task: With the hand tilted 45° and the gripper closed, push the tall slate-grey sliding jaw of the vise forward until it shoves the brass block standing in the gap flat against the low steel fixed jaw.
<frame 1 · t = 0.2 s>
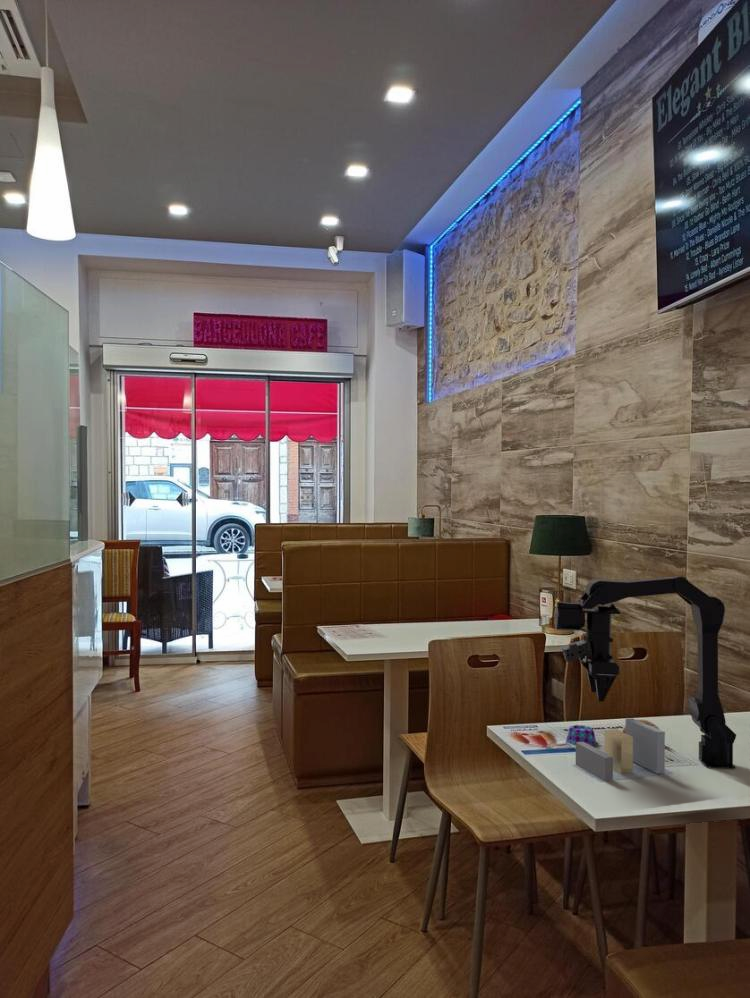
hand: (597, 696, 178), 15 cm above the table, tool pointing down, fingers open, 9 cm apart
brass block: (618, 769, 167), point 1 cm above the table, touching vise
bread roll: (642, 745, 190), on the table
sliding jaw: (644, 745, 169), point 6 cm above the table, slide at 0.0 cm
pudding: (581, 749, 187), on the table
vise: (616, 776, 167), on the table
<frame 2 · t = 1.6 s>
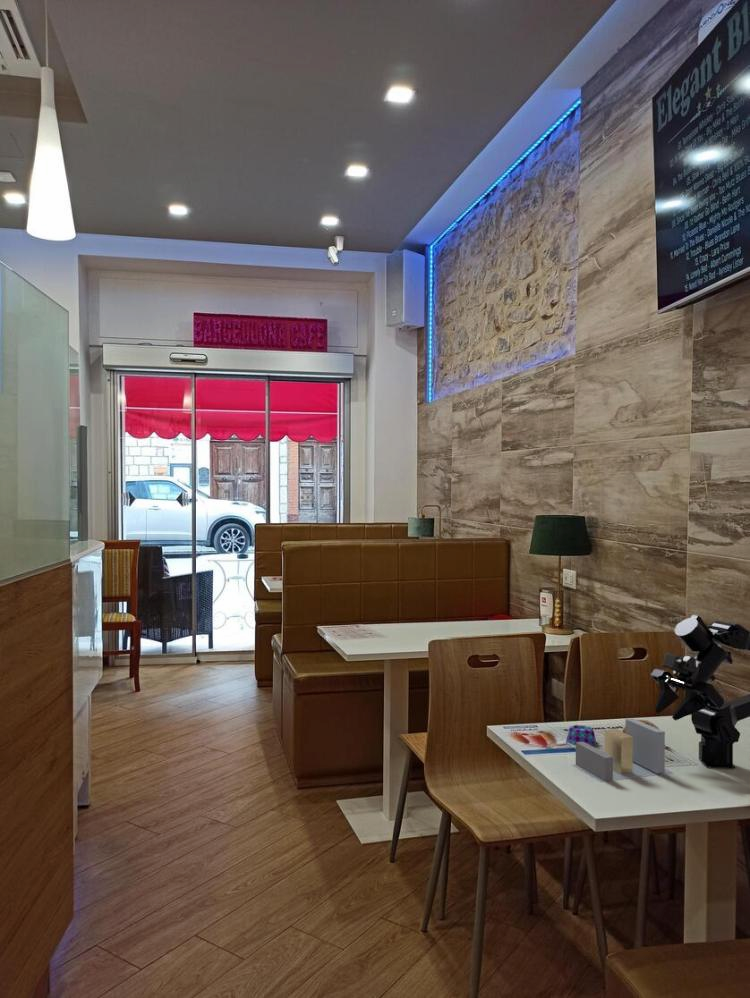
hand: (664, 715, 171), 13 cm above the table, tool tilted 45°, fingers open, 6 cm apart
nothing on the table moved.
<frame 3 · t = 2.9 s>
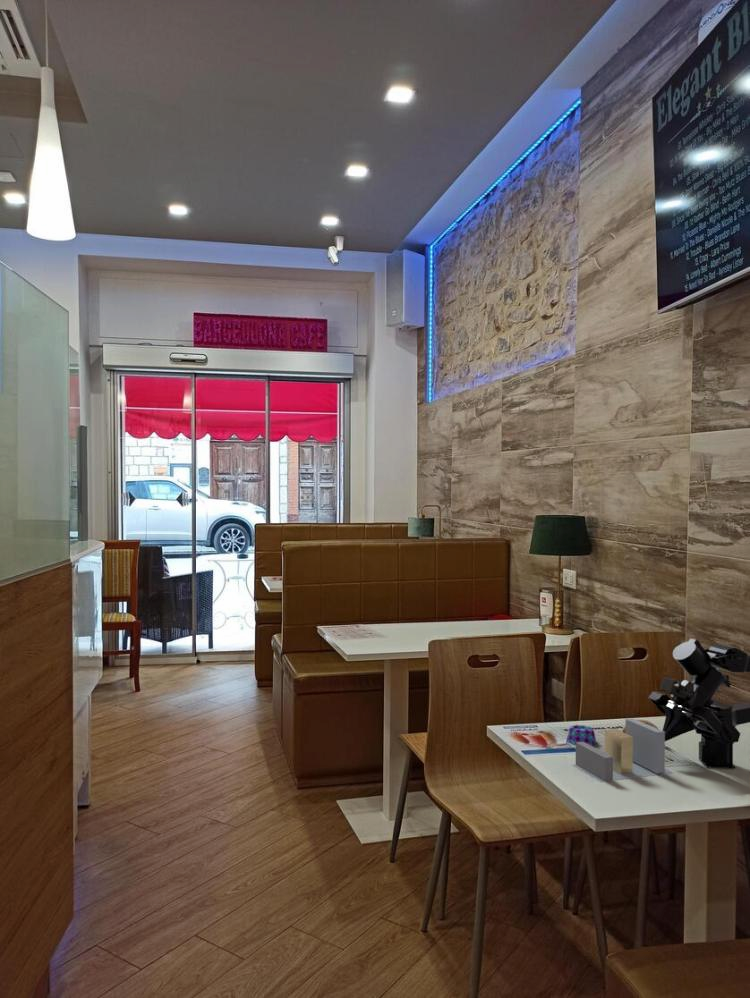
hand: (662, 739, 171), 7 cm above the table, tool tilted 45°, fingers closed
nothing on the table moved.
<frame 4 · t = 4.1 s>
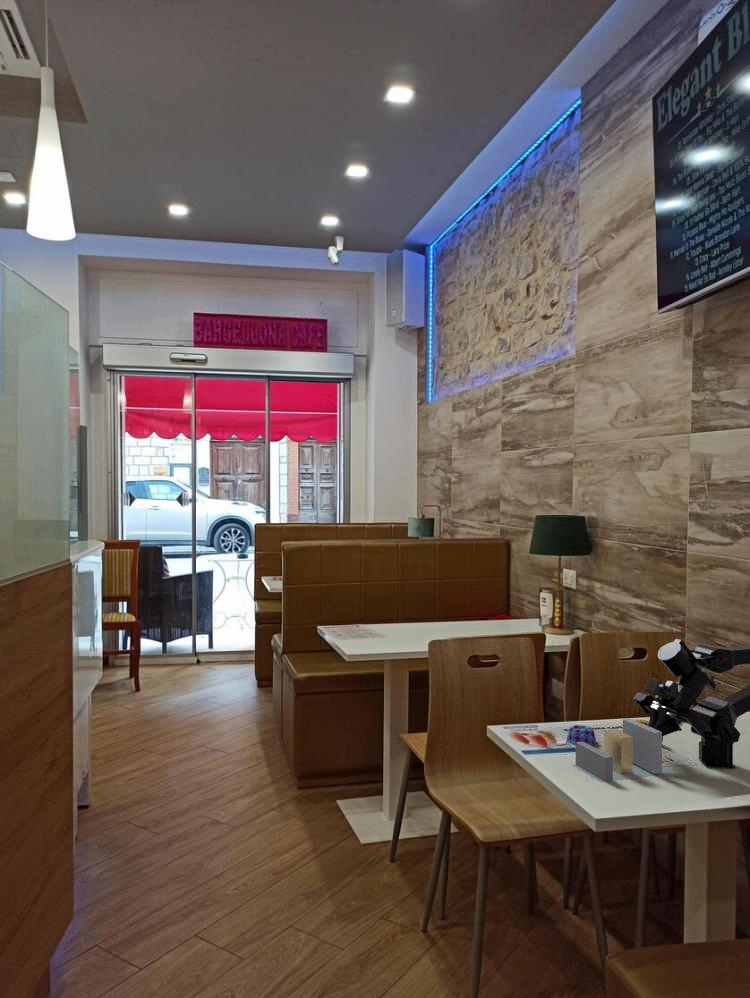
hand: (646, 740, 169), 7 cm above the table, tool tilted 45°, fingers closed, pressing on sliding jaw
sliding jaw: (641, 745, 169), point 6 cm above the table, slide at 0.8 cm, touching gripper
everything else where it was.
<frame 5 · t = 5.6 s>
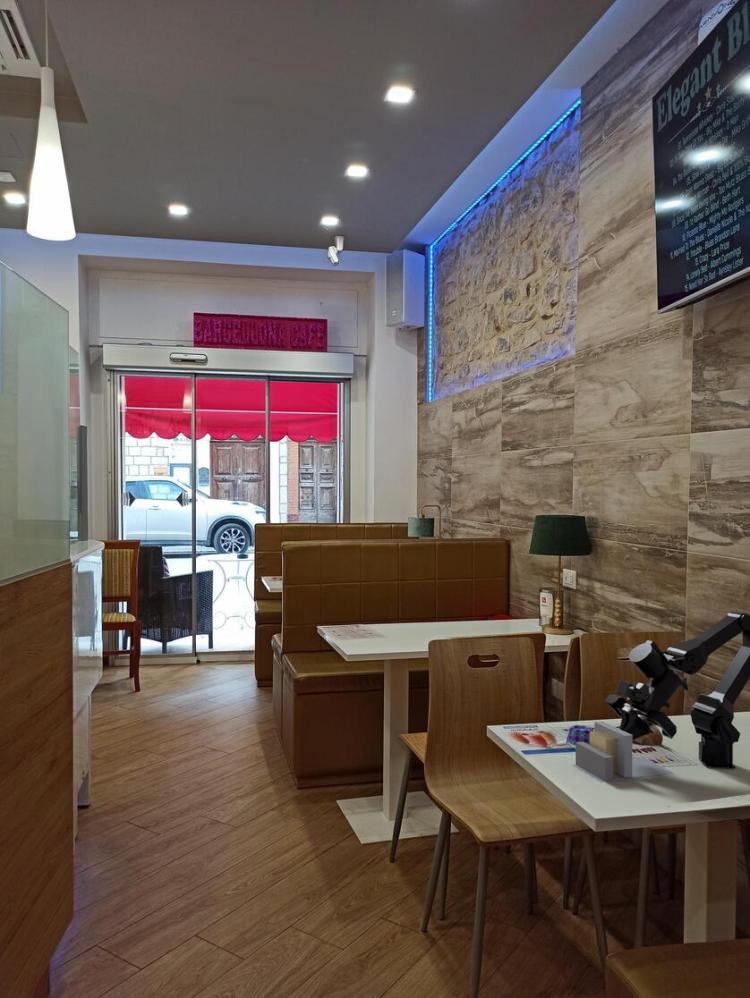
hand: (617, 743, 167), 7 cm above the table, tool tilted 45°, fingers closed, pressing on sliding jaw
brass block: (603, 771, 165), point 2 cm above the table, touching sliding jaw, vise
sliding jaw: (612, 748, 166), point 6 cm above the table, slide at 8.5 cm, touching brass block, gripper
everything else where it was.
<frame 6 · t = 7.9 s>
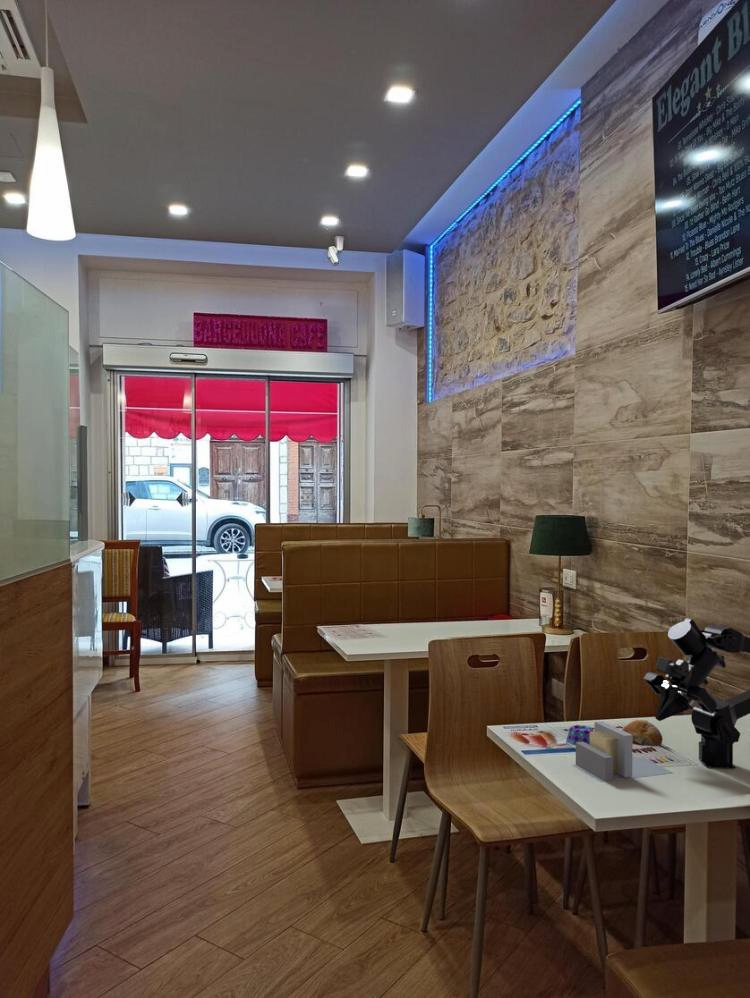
hand: (657, 719, 170), 12 cm above the table, tool tilted 45°, fingers closed
brass block: (603, 771, 165), point 1 cm above the table, touching vise
sliding jaw: (612, 748, 166), point 6 cm above the table, slide at 8.5 cm
everything else where it was.
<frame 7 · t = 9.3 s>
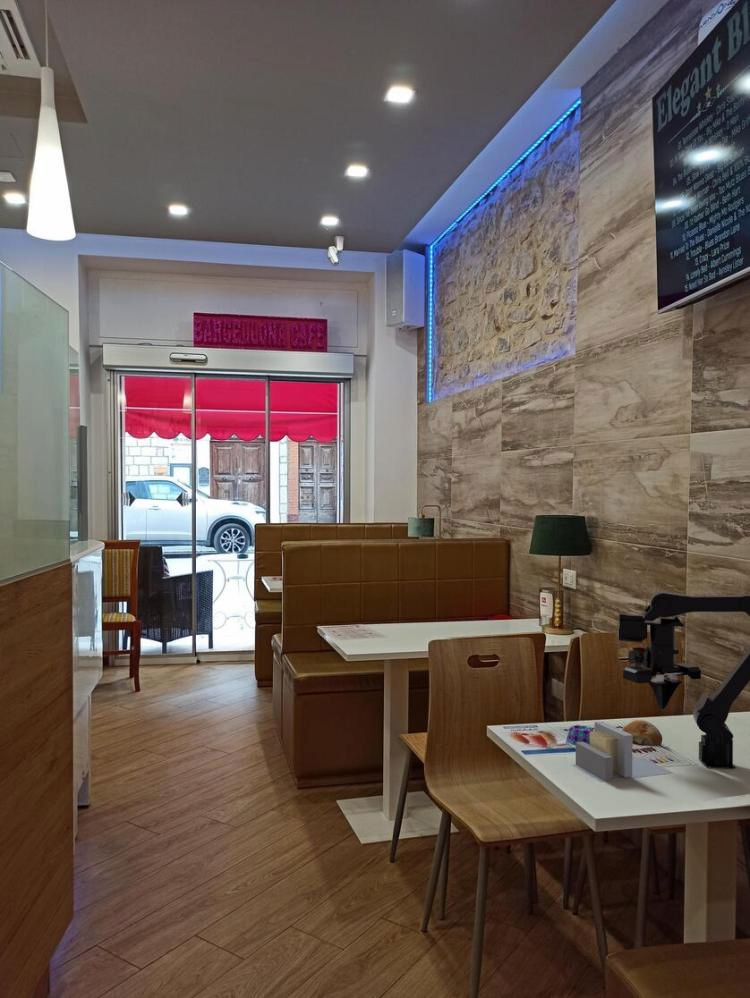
hand: (661, 708, 179), 12 cm above the table, tool pointing down, fingers closed
nothing on the table moved.
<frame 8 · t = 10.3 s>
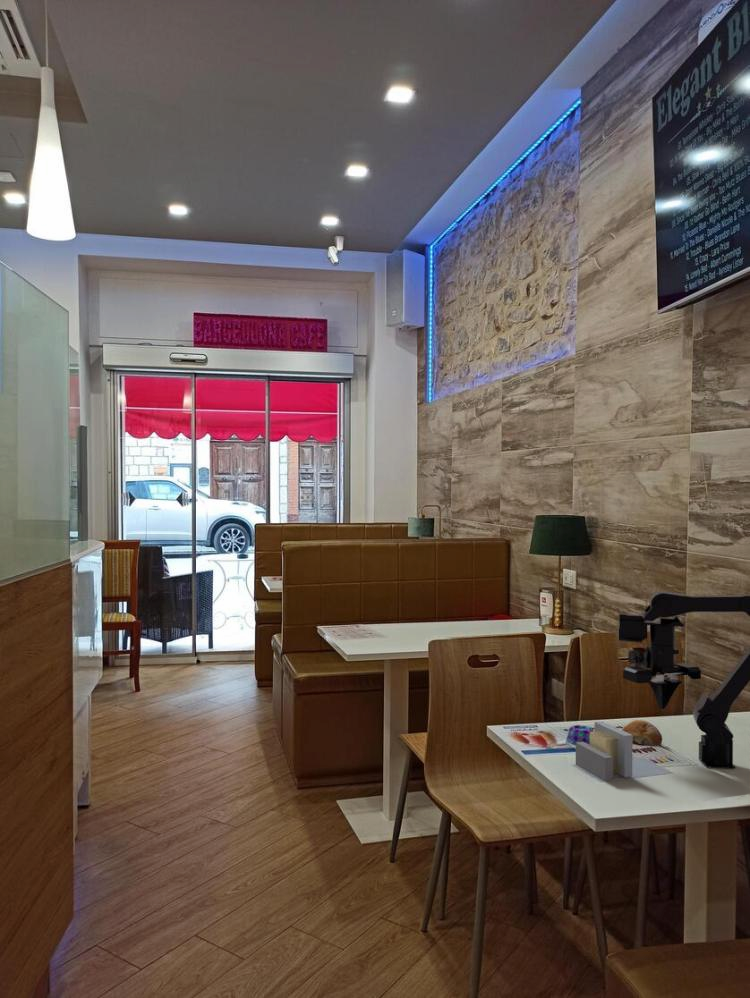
hand: (661, 708, 179), 12 cm above the table, tool pointing down, fingers closed
nothing on the table moved.
at the end: sliding jaw slide at 8.5 cm; brass block 0.1 cm from the target spot on the vise, point 1.5 cm above the vise's base; brass block tilted 0° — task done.
